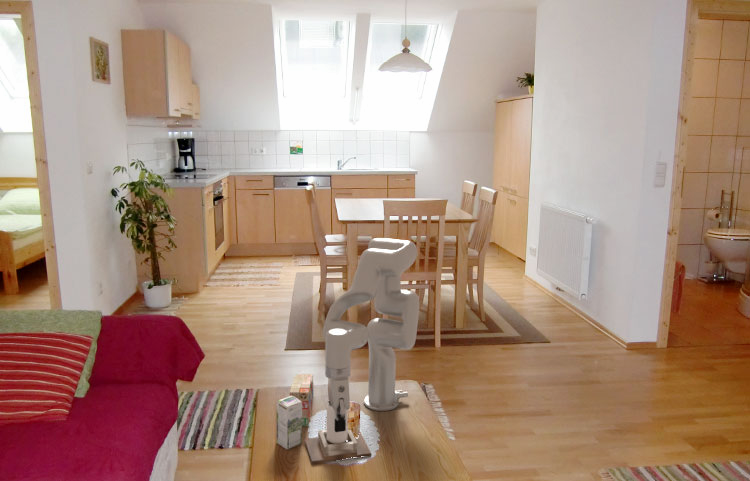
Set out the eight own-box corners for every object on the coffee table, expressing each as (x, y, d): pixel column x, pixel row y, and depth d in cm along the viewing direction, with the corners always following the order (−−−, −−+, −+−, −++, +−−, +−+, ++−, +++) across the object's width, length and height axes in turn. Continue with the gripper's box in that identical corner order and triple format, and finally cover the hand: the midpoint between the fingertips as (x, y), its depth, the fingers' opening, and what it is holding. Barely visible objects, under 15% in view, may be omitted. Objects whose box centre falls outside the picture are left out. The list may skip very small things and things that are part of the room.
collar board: (360, 434, 187) (360, 423, 186) (371, 456, 175) (371, 443, 174) (304, 441, 182) (304, 430, 182) (312, 464, 170) (311, 451, 169)
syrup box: (291, 436, 185) (290, 394, 182) (302, 444, 181) (302, 400, 178) (276, 443, 181) (275, 399, 179) (287, 450, 177) (287, 406, 174)
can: (352, 439, 178) (352, 402, 176) (336, 447, 173) (336, 409, 171) (337, 431, 182) (337, 395, 180) (322, 439, 178) (322, 402, 176)
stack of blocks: (296, 397, 213) (296, 365, 211) (313, 397, 213) (313, 365, 211) (289, 426, 192) (289, 391, 190) (308, 426, 192) (308, 391, 190)
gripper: (357, 380, 167) (356, 438, 170) (343, 358, 183) (343, 411, 186) (331, 383, 165) (331, 441, 168) (320, 360, 181) (319, 413, 184)
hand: (337, 424), depth 177 cm, fingers closed on can, 6 cm apart
